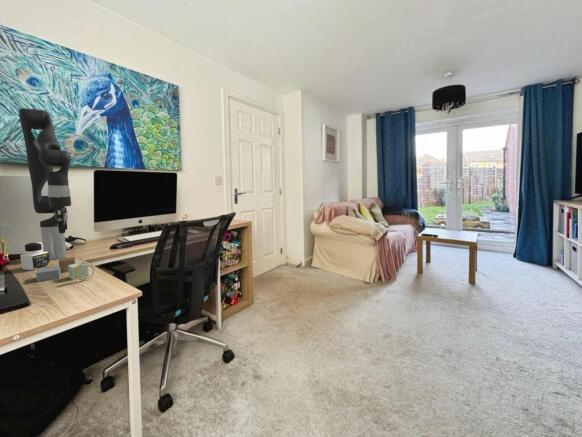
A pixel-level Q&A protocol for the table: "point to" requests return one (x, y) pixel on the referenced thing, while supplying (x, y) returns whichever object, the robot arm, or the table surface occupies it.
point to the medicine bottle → (34, 257)
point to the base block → (48, 273)
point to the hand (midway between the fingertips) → (63, 231)
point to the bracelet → (82, 266)
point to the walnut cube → (66, 263)
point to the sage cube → (80, 273)
